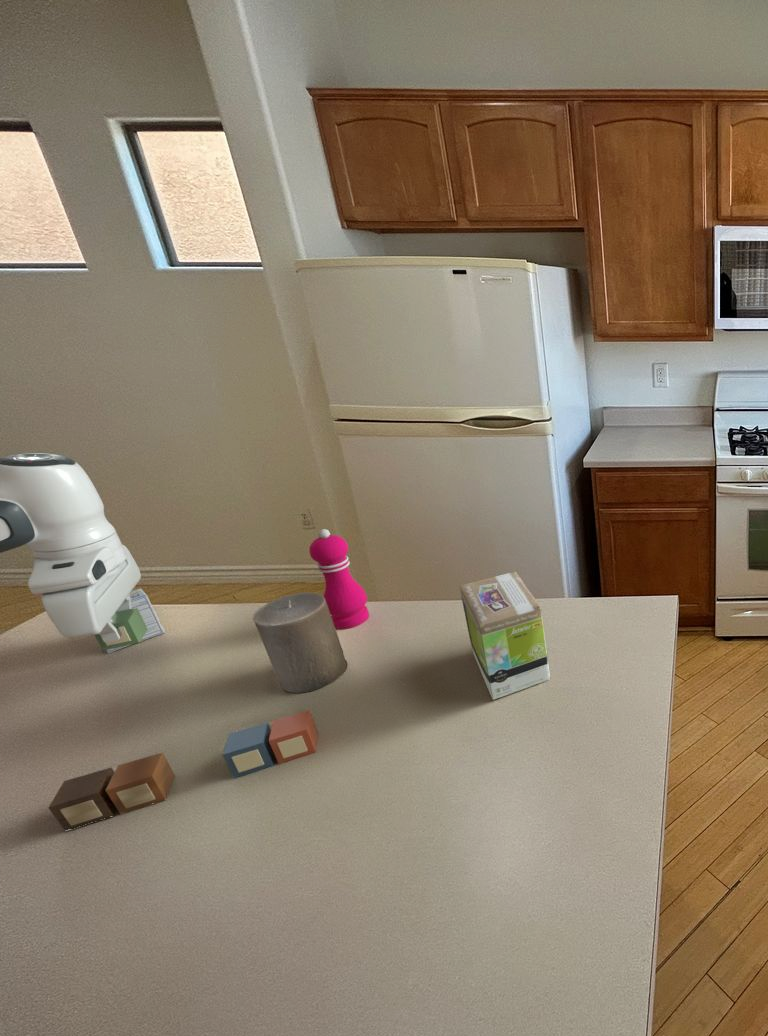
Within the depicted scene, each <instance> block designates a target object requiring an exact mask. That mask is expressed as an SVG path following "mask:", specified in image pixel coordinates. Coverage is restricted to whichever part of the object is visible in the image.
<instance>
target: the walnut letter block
mask: <svg viewBox="0 0 768 1036" xmlns="http://www.w3.org/2000/svg"><path fill="white" fill-rule="evenodd" d="M114 772H115V771H114V769H113V767H112V766H111V767H108V768H104V769H101V770H97V771H94V772H90V773H87V774H84V775H79V776H77V777H73V778H70V779H66V780H64V781H63V783H62V784H61V786H60V787H59V789H58V791H57V792H56V793H55V795H54V797H53V798H52V800H51V802H50V804H49V806H48V809H49V811H50V813H51V814H52V815H53V817H54V819H56V821H57V822H58V824H59V825H60V826H61V828H62V829H63V830H64V831H65V830H68V829H74V828H77V827H79V826H83V825H85V824H88V823H91V822H95V821H99V820H101V819H104V818H108V817H110V816H114V814H115V815H116V813H117V811H118V809H117V808H116V806H115V805H114V803H113V802H112V800H111V799H110V797H109V795H108V794H107V792H106V791H105V790H106V788H107V786H108V784H109V782H110V780H111V778H112V776H113V774H114ZM116 810H117V811H116ZM115 812H116V813H115ZM114 817H115V816H114ZM108 819H109V818H108ZM99 822H100V821H99ZM83 827H84V826H83ZM77 829H78V828H77ZM74 830H75V829H74Z"/></svg>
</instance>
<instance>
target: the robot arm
mask: <svg viewBox="0 0 768 1036" xmlns="http://www.w3.org/2000/svg"><path fill="white" fill-rule="evenodd" d="M21 546H28V548H29V549H30V551H31V552H32V555H33V556H34V558H33V561H32V563H33V567H32V571H31V574H30V576H29V578H28V580H27V586H28V589H29V590H30V592H31V593H32V595H41V604H42V606H43V608H44V610H45V613H46V614H47V615H48V617H49V619H50V621H51V623H53V626H55V628H56V629H57V631H58V633H59V634H60V635H61V636H63V637H64V638H67V639H68V640H75V639H80V638H86V637H91V636H95V634H99V635H100V636H101V638H102V639H103V641H104V642H105V643H111V642H116V641H118V640H119V639H120V637H121V635H122V633H121V632H120V629H119V627H114V626H113V624H112V619H111V617H112V616H113V615H114V613H115V612H118V611H123V610H128V609H132V608H131V597H130V595H129V593H130V592H131V591H133V590H134V589H135V587H136V586H137V584H138V583H139V581H140V580H141V579H142V575H141V570H140V567H139V565H138V564H137V563H136V560H135V559H134V556H133V554H132V553H131V552H130V550H129V549H128V548H127V546H126V545H124V544H123V543H122V541H121V539H120V537H119V534H118V532H117V530H116V529H115V527H114V526H113V525H112V524H111V523H110V522H109V520H108V519H107V517H106V514H105V505H104V503H103V500H102V498H101V496H100V494H99V492H98V490H97V489H96V487H95V485H94V484H93V482H92V480H91V478H90V477H89V474H87V472H86V471H85V470H84V468H83V467H82V466H81V465H80V464H79V463H78V462H77V461H75V459H74V460H73V459H72V458H70V457H66V456H64V455H60V454H55V453H41V452H38V453H37V452H36V453H35V452H34V453H32V452H31V453H29V452H28V453H19V454H11V455H6V456H1V457H0V554H2V553H5V552H8V551H11V550H13V549H17V548H20V547H21Z"/></svg>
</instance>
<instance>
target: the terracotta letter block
mask: <svg viewBox="0 0 768 1036" xmlns="http://www.w3.org/2000/svg"><path fill="white" fill-rule="evenodd" d="M270 729H271V733H270V737H269V743H270V745H271V747H272V750H273V752H274V754H275V759H276V761H277V763H278V764H282V763H285V762H289V761H293V760H296V759H298V758H301V757H305V756H307V755H311V754H314V753H316V752H317V745H318V736H319V731H318V728H317V725H316V723H315V720H314V718H313V715H312V712H311V709H308V710H304V711H301V712H298V713H294V714H291V715H288V716H284V717H280V718H277V719H274V720H272V724H271V727H270Z"/></svg>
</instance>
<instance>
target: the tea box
mask: <svg viewBox="0 0 768 1036" xmlns="http://www.w3.org/2000/svg"><path fill="white" fill-rule="evenodd" d="M459 590H460V596H461V598H460V599H461V602H462V607H463V611H464V616H465V621H466V628H467V632H468V637H469V643H470V647H471V651H472V654H473V656H474V659H475V661H476V664H477V666H478V669H479V671H480V673H481V676H482V679H483V680H484V681H483V682H485V685H486V688H487V690H488V692H489V695H490V697H491V699H492V700H493V701H494V700H496V699H500V698H503V697H506V696H509V695H511V694H514V693H517V692H520V691H523V690H526V689H528V688H530V687H533V686H535V685H536V686H537V685H538V684H541V683H544V682H546V681H549V680H550V678H551V674H550V666H549V660H548V651H547V645H546V635H545V629H544V620H543V619H544V618H543V614H542V608H541V606H540V605H539V603H538V601H537V600H536V598H535V597H534V595H533V594H532V592H531V591H530V590H529V589H528V587H527V586H526V584H525V583H524V581H523V580H522V579H521V577H520V576H519V574H518V573H517V571H512V572H507V573H504V574H499V575H496V576H492V577H488V578H485V579H480V580H476V581H473V582H469V583H465V584H461V585H459Z"/></svg>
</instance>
